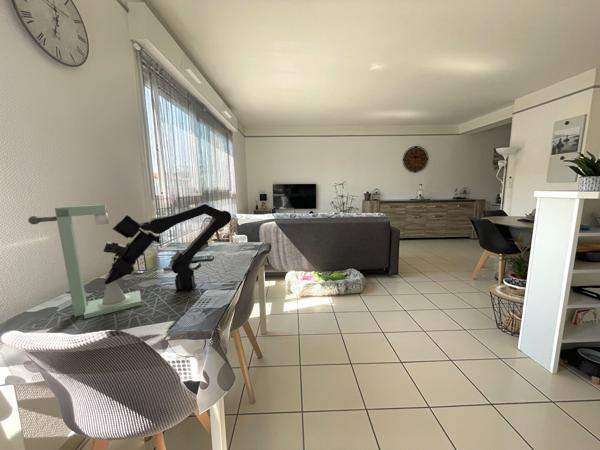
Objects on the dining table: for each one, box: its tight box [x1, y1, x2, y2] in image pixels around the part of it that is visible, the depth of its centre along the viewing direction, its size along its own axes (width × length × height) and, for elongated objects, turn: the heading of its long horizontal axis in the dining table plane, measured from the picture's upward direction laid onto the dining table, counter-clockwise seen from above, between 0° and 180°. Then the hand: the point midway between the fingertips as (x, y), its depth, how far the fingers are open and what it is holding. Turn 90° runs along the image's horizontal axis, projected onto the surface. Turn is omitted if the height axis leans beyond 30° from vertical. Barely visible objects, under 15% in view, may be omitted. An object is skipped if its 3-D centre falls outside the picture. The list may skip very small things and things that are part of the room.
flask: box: [102, 273, 126, 305], centre depth 92 cm, size 7×7×10 cm
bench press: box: [27, 204, 142, 320], centre depth 87 cm, size 26×12×36 cm, turn 124°
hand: (106, 281), depth 91 cm, fingers open, 6 cm apart
